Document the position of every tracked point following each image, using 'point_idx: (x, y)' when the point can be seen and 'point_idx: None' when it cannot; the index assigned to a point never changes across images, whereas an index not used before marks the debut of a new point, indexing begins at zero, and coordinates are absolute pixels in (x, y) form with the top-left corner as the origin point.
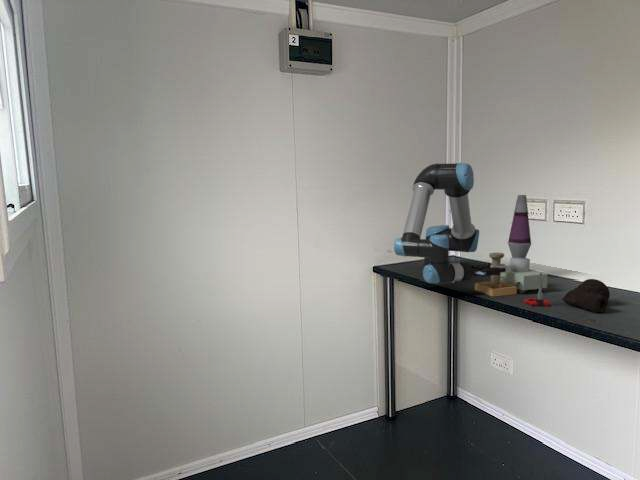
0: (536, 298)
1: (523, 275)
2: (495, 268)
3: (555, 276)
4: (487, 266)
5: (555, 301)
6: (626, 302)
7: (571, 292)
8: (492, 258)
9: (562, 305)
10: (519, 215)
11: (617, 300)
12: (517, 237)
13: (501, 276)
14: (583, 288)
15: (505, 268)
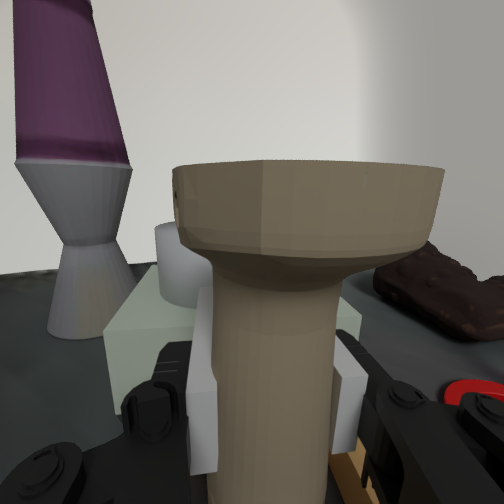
0: (446, 397)
1: (343, 311)
2: (463, 454)
3: (150, 263)
4: (188, 496)
5: (431, 353)
6: (373, 270)
7: (482, 300)
8: (317, 280)
9: (492, 360)
10: (65, 2)
11: (361, 272)
12: (86, 130)
13: (146, 374)
14: (464, 272)
15: (346, 332)
